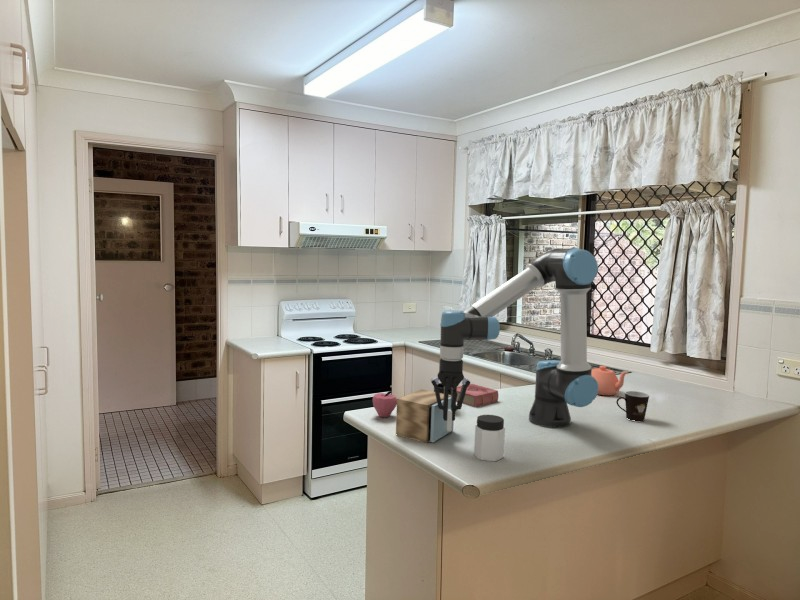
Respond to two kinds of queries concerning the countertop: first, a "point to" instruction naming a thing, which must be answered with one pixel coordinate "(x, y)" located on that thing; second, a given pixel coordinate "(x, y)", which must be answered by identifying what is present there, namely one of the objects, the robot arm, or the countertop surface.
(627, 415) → the coffee mug
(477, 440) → the jar
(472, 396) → the book
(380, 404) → the apple
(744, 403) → the countertop surface
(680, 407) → the countertop surface
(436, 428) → the door
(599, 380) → the teapot
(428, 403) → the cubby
